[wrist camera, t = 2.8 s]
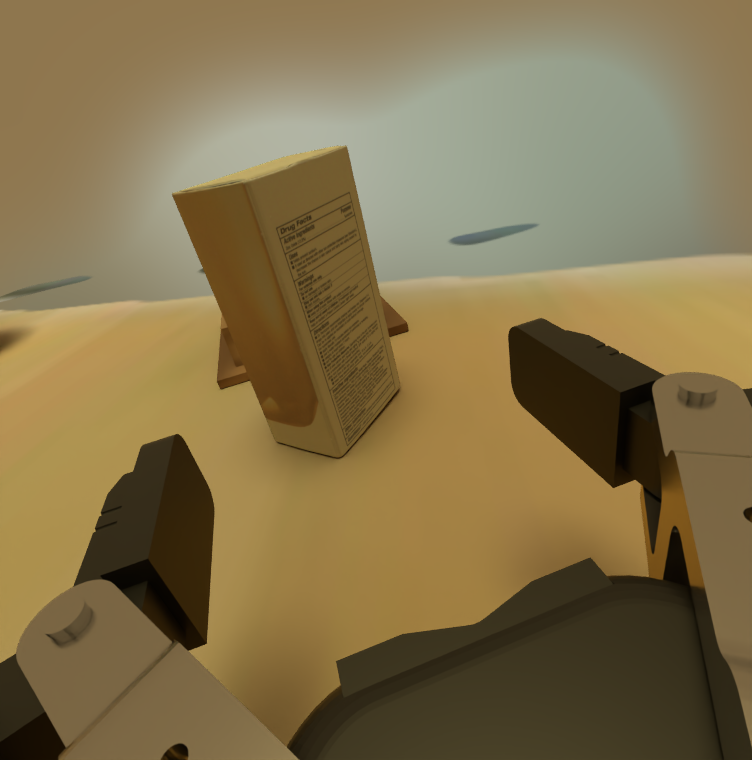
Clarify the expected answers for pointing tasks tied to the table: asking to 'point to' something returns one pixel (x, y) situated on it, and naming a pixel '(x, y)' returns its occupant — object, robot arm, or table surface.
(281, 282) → the skincare box
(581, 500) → the table surface
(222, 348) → the holder
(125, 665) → the robot arm
